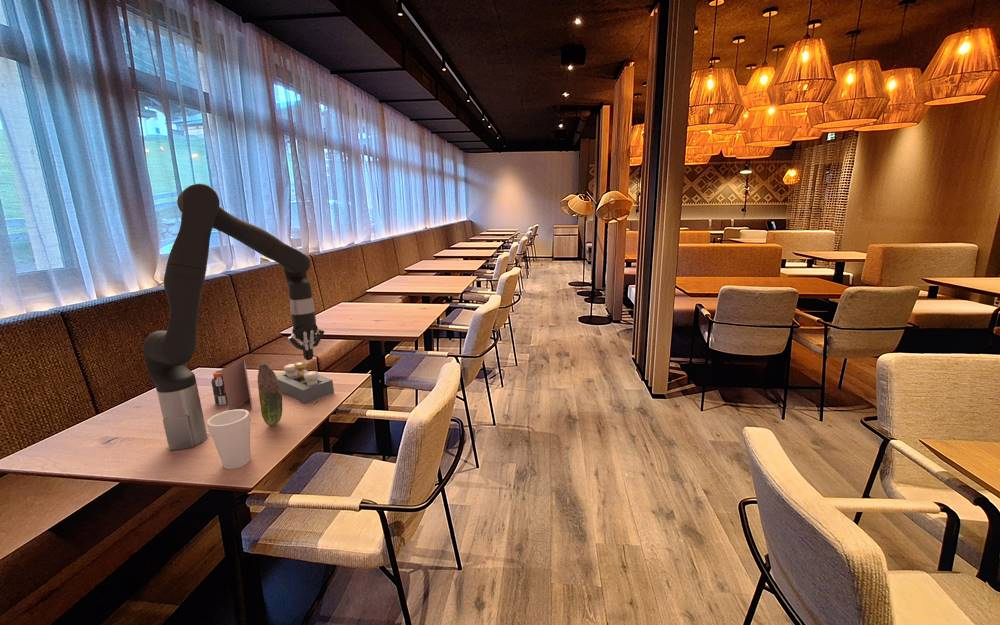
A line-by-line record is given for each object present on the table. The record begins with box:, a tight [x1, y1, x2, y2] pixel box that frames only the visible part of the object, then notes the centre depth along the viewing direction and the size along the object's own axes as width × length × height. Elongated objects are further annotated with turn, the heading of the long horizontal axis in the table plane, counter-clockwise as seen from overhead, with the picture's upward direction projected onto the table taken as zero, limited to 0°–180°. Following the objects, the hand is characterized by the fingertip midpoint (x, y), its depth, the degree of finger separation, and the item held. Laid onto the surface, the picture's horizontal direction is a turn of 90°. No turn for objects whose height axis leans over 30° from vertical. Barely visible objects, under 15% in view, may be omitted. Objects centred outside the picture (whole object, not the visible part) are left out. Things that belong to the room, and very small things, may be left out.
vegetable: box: [257, 363, 283, 427], centre depth 136 cm, size 6×6×20 cm
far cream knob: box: [283, 363, 297, 378], centre depth 166 cm, size 5×5×7 cm
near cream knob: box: [304, 370, 319, 386], centre depth 158 cm, size 5×5×7 cm
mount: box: [276, 368, 335, 405], centre depth 163 cm, size 22×11×5 cm, turn 52°
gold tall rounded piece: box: [293, 361, 307, 382], centre depth 162 cm, size 4×4×7 cm
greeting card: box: [221, 357, 253, 411], centre depth 152 cm, size 11×7×15 cm, turn 175°
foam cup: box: [206, 408, 252, 470], centre depth 117 cm, size 10×9×13 cm
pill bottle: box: [210, 369, 228, 406], centre depth 155 cm, size 6×6×11 cm
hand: (309, 359), depth 156 cm, fingers closed
